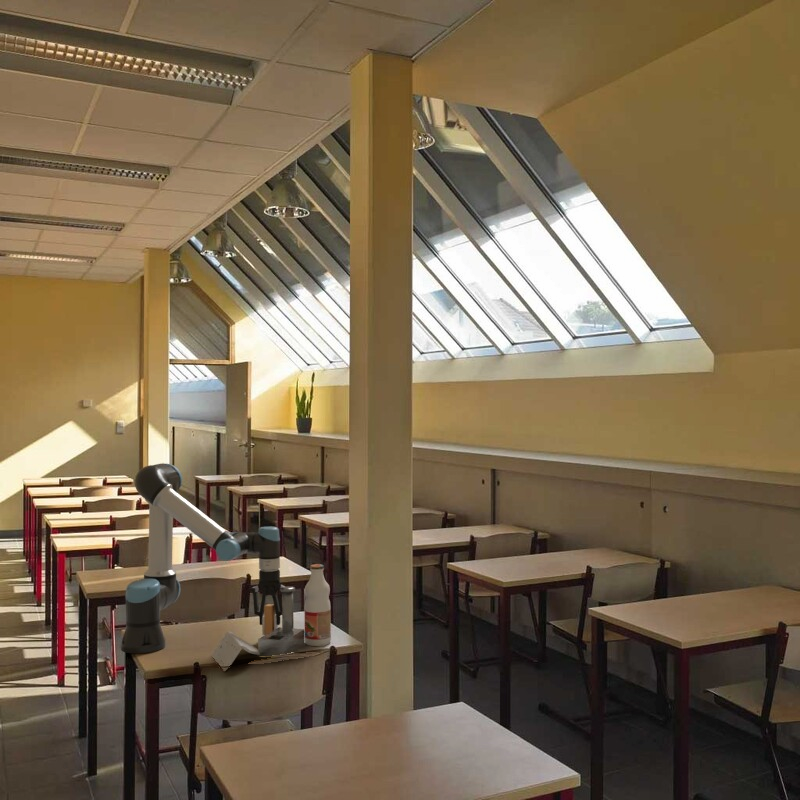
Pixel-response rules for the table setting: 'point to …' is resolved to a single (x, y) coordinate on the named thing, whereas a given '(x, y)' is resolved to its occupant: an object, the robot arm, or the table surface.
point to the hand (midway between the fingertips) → (270, 633)
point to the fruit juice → (317, 608)
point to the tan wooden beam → (269, 618)
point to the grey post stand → (283, 631)
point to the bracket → (231, 649)
